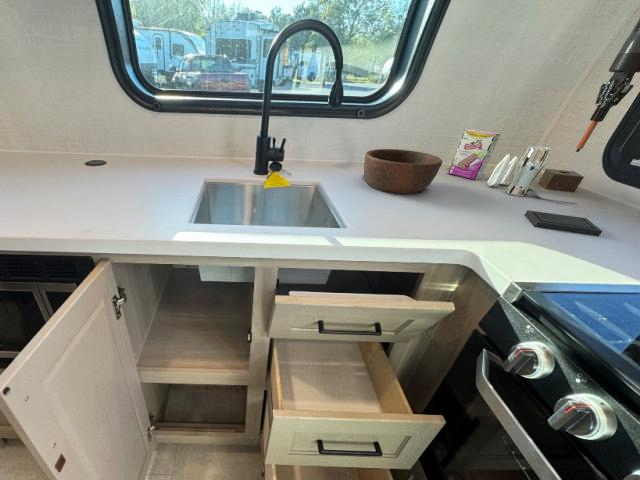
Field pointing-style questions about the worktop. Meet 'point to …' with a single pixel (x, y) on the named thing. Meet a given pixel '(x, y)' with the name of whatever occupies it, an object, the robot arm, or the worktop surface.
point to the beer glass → (528, 169)
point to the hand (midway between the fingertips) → (595, 120)
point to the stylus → (587, 135)
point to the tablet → (561, 227)
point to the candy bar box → (473, 154)
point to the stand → (560, 180)
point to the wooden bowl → (400, 170)
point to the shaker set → (503, 171)
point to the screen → (562, 220)
